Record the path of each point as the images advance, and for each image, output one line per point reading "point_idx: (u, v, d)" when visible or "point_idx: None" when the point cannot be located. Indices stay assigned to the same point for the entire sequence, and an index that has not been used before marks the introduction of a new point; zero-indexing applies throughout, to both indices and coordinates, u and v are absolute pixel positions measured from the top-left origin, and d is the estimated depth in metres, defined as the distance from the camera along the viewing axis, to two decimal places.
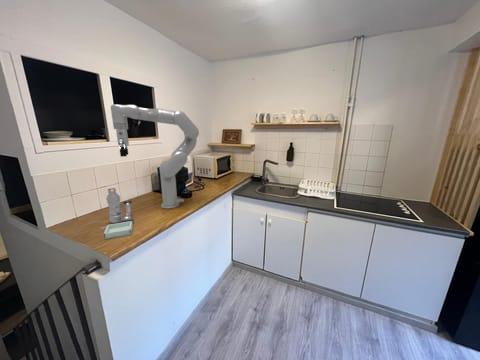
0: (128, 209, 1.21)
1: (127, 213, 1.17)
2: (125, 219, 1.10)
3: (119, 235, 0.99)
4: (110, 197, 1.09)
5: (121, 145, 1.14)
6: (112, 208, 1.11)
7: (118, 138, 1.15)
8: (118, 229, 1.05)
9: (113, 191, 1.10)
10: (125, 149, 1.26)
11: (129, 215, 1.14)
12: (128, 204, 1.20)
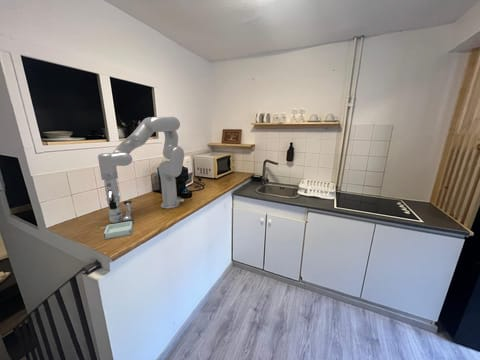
0: (128, 209, 1.21)
1: (127, 213, 1.17)
2: (125, 219, 1.10)
3: (119, 235, 0.99)
4: None
5: (110, 200, 1.05)
6: None
7: (106, 190, 1.05)
8: (118, 229, 1.05)
9: None
10: None
11: (129, 215, 1.14)
12: (128, 204, 1.20)
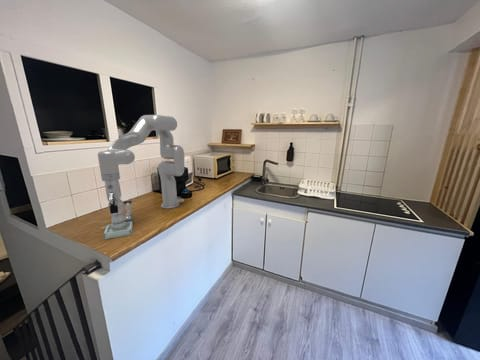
0: (128, 209, 1.21)
1: (127, 213, 1.17)
2: (125, 219, 1.10)
3: (119, 235, 0.99)
4: None
5: (111, 202, 0.92)
6: (115, 215, 0.99)
7: (107, 192, 0.93)
8: None
9: None
10: None
11: (129, 215, 1.14)
12: (128, 204, 1.20)
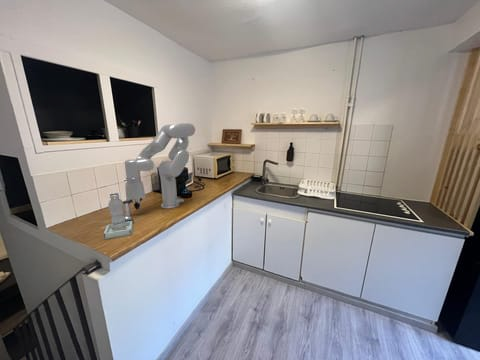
0: (127, 209, 1.21)
1: (127, 213, 1.17)
2: (125, 219, 1.10)
3: (119, 235, 0.99)
4: (112, 204, 0.97)
5: None
6: (115, 215, 0.99)
7: None
8: None
9: (116, 197, 0.98)
10: None
11: (129, 215, 1.14)
12: (127, 204, 1.20)
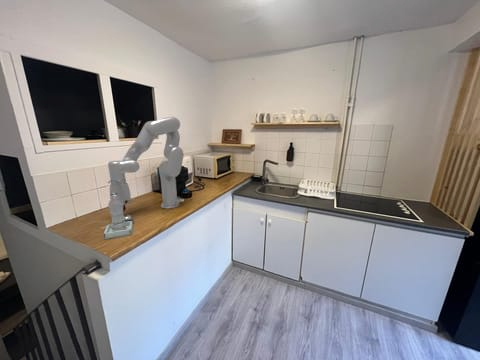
0: None
1: None
2: (128, 219, 1.11)
3: (119, 235, 0.99)
4: (112, 204, 0.97)
5: None
6: (115, 215, 0.99)
7: None
8: None
9: (116, 197, 0.98)
10: None
11: (127, 215, 1.14)
12: None
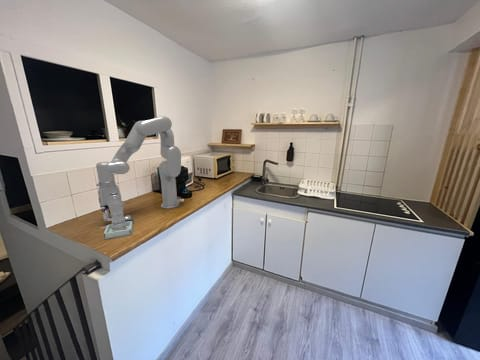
0: (108, 216, 1.11)
1: None
2: (130, 218, 1.12)
3: (119, 235, 0.99)
4: (112, 204, 0.97)
5: None
6: (115, 215, 0.99)
7: None
8: None
9: (116, 196, 0.98)
10: None
11: None
12: (107, 210, 1.11)
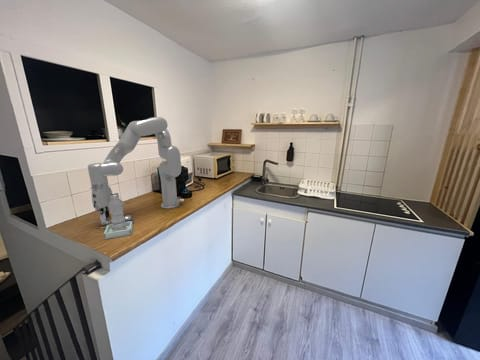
0: (105, 219, 1.08)
1: None
2: (130, 217, 1.13)
3: (119, 235, 0.99)
4: (112, 204, 0.97)
5: (99, 210, 1.07)
6: (115, 215, 0.99)
7: (92, 200, 1.05)
8: None
9: (116, 197, 0.98)
10: None
11: (124, 216, 1.13)
12: None
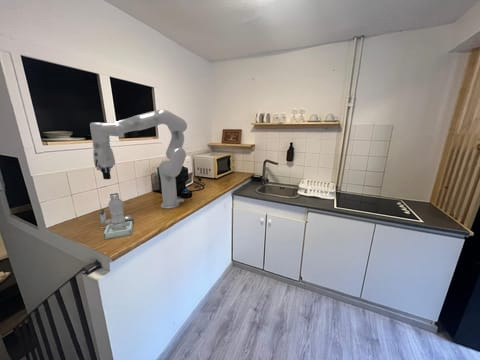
0: None
1: None
2: (130, 217, 1.13)
3: (119, 235, 0.99)
4: (112, 204, 0.97)
5: (100, 170, 1.07)
6: (115, 215, 0.99)
7: (94, 159, 1.05)
8: None
9: (116, 196, 0.98)
10: None
11: (124, 216, 1.13)
12: None
